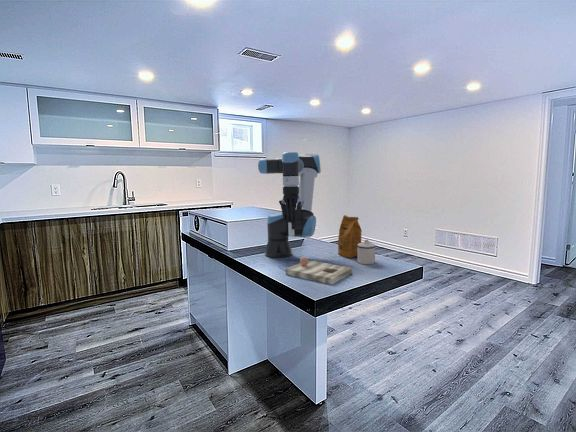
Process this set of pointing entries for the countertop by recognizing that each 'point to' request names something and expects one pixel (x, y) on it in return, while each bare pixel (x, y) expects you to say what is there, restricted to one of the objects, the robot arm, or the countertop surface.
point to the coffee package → (349, 237)
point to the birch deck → (319, 272)
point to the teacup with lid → (366, 252)
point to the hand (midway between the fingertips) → (291, 235)
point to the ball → (303, 261)
